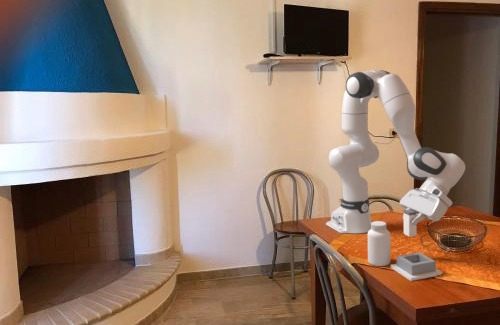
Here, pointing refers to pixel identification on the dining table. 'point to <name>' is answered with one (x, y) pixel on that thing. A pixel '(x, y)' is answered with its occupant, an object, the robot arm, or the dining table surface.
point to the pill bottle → (379, 244)
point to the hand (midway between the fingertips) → (408, 222)
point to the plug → (409, 227)
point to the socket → (416, 266)
